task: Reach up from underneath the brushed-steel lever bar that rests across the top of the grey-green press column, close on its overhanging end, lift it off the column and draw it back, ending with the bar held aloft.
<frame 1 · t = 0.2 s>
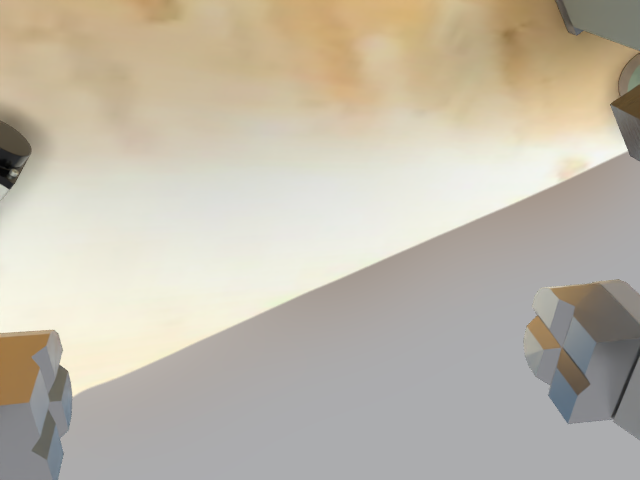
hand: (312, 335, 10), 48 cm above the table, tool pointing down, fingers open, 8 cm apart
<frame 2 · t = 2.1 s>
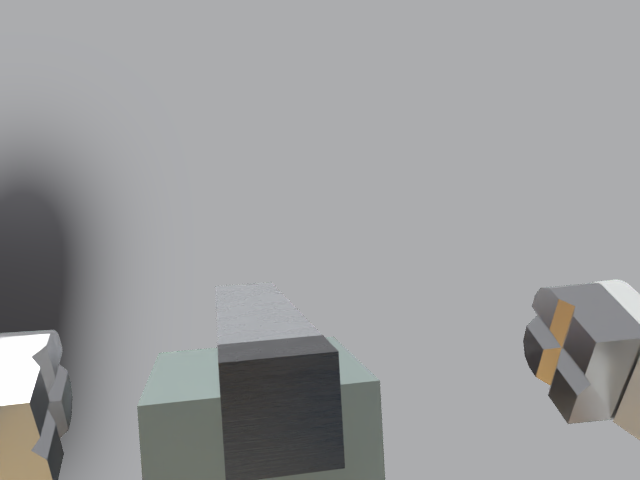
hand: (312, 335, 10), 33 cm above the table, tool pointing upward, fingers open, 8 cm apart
lever bar: (259, 382, 32), point 26 cm above the table, touching press column
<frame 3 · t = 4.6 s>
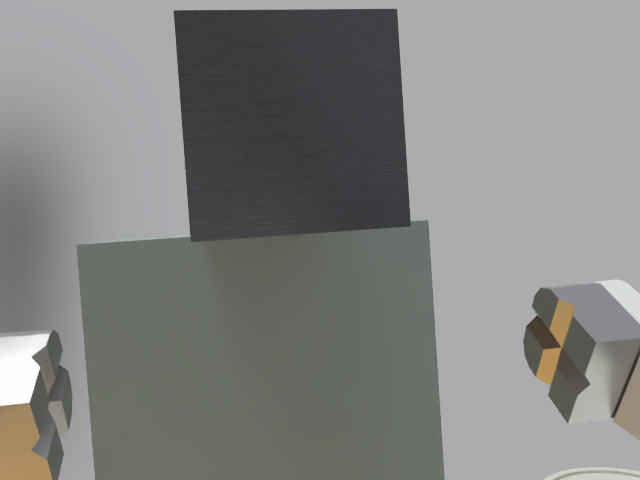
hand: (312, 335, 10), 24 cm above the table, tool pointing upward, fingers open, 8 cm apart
lever bar: (256, 231, 23), point 26 cm above the table, touching press column
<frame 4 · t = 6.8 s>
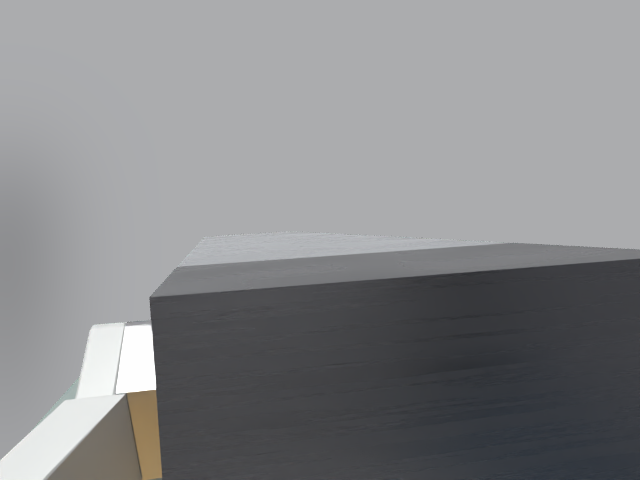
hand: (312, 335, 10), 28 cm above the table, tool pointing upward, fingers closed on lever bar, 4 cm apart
lever bar: (284, 390, 16), point 26 cm above the table, touching gripper, press column
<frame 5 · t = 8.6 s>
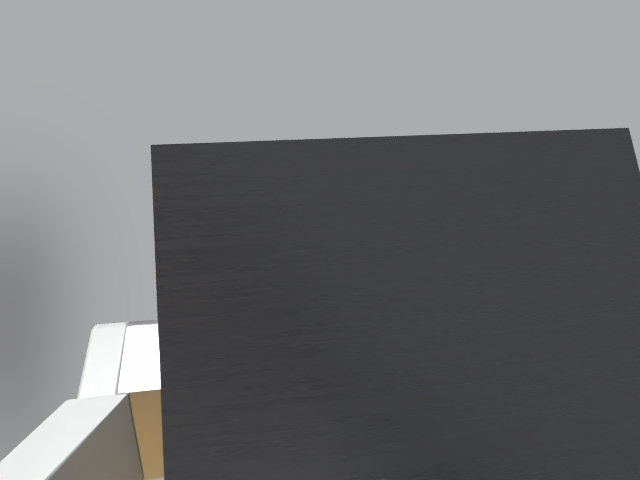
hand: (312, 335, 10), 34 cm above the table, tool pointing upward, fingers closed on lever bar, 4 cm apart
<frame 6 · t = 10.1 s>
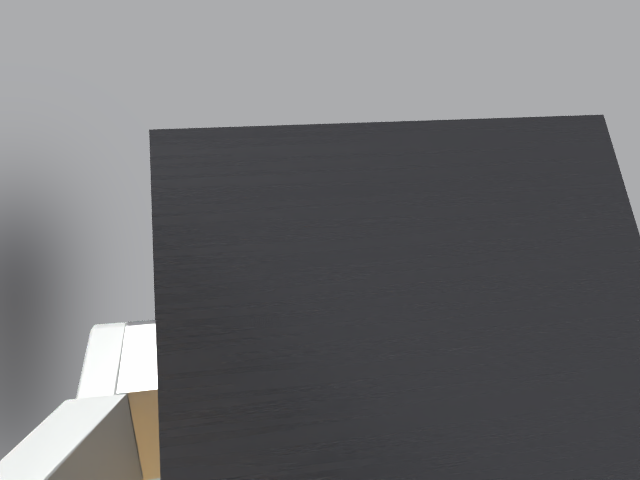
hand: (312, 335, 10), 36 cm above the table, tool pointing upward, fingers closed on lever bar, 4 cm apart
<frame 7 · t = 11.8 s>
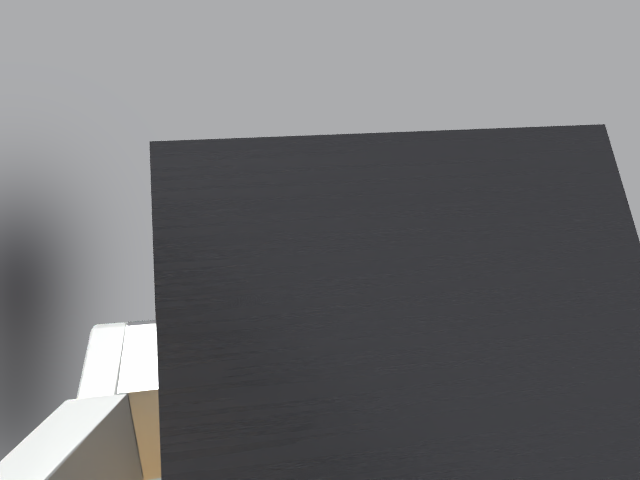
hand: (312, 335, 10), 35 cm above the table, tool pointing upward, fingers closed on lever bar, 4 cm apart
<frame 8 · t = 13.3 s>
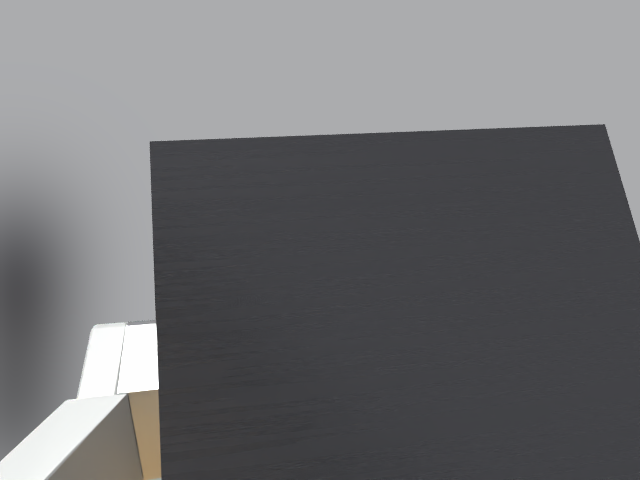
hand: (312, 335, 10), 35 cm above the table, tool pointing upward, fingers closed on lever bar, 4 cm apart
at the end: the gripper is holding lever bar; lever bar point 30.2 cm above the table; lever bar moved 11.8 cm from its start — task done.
